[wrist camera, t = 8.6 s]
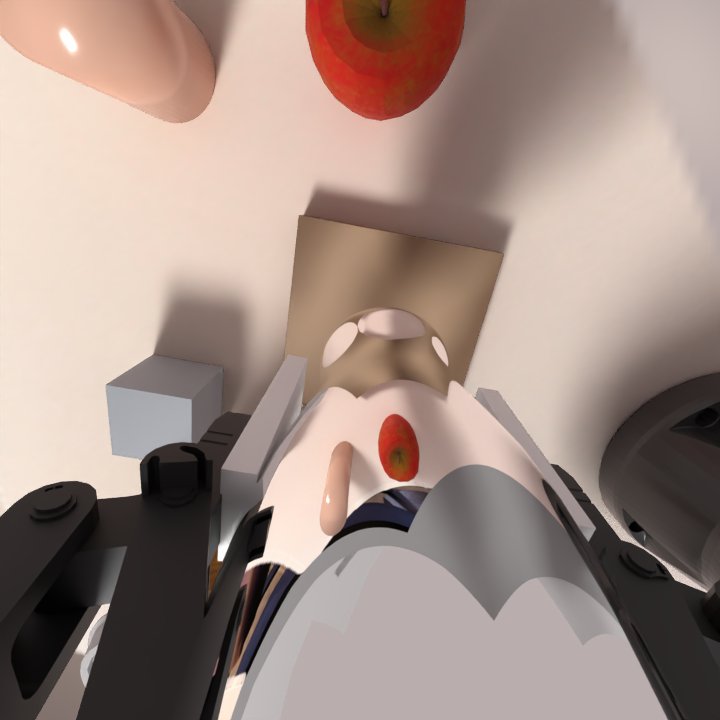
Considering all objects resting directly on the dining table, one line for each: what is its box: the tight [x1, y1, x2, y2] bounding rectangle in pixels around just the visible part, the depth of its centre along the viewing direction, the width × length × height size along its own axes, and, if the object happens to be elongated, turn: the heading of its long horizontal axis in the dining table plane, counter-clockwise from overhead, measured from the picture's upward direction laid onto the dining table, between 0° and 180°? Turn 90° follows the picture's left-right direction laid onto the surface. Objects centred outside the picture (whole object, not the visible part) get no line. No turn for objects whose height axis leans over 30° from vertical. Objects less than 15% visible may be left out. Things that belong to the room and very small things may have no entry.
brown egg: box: [0, 0, 215, 123], centre depth 16 cm, size 5×5×8 cm
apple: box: [306, 0, 466, 121], centre depth 16 cm, size 6×6×8 cm
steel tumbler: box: [171, 307, 690, 720], centre depth 10 cm, size 7×7×15 cm
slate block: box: [106, 355, 224, 460], centre depth 24 cm, size 5×5×5 cm
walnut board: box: [284, 215, 504, 404], centre depth 24 cm, size 12×12×2 cm
